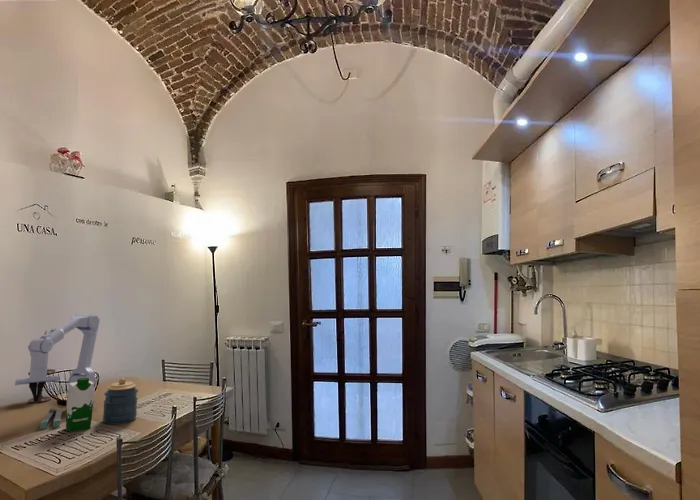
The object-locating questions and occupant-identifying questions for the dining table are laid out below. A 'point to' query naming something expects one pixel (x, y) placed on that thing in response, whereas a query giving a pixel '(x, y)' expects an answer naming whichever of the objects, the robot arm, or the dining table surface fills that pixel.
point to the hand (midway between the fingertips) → (36, 400)
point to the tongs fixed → (56, 417)
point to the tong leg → (46, 420)
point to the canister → (120, 402)
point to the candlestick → (41, 398)
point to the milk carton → (79, 405)
